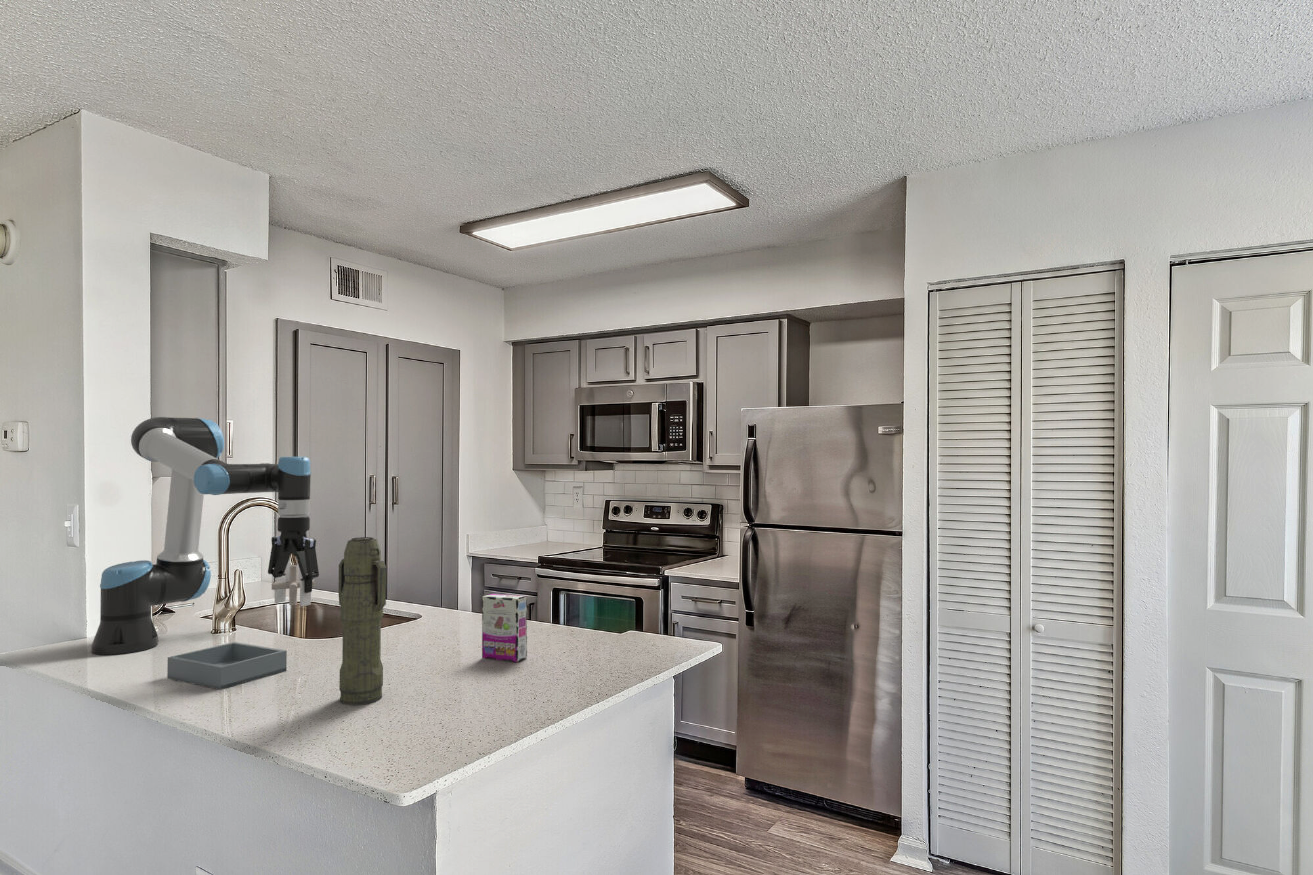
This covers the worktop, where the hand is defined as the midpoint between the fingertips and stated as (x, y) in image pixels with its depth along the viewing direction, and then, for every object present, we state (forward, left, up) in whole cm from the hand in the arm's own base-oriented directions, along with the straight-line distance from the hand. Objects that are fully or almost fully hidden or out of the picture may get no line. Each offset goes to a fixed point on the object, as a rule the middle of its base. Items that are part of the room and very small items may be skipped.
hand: (292, 603), depth 197 cm
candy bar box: (+47, +27, -15) cm, 56 cm away
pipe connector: (0, 0, 0) cm, 1 cm away
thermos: (+40, -14, -15) cm, 45 cm away
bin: (-4, -15, -15) cm, 21 cm away
